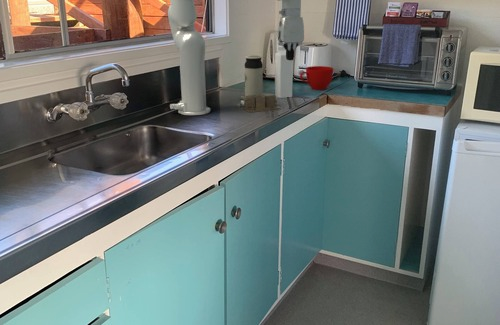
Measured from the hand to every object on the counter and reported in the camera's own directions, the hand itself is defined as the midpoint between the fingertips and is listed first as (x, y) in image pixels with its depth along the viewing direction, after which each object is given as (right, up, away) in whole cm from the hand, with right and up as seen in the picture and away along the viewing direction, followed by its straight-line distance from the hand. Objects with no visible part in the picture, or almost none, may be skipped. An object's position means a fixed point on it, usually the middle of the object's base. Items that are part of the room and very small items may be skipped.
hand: (289, 59), depth 207 cm
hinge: (-13, -20, 0) cm, 24 cm away
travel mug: (-15, -13, +21) cm, 28 cm away
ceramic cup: (+15, -7, +36) cm, 40 cm away
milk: (-1, -13, +21) cm, 24 cm away
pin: (-13, -20, 0) cm, 24 cm away
